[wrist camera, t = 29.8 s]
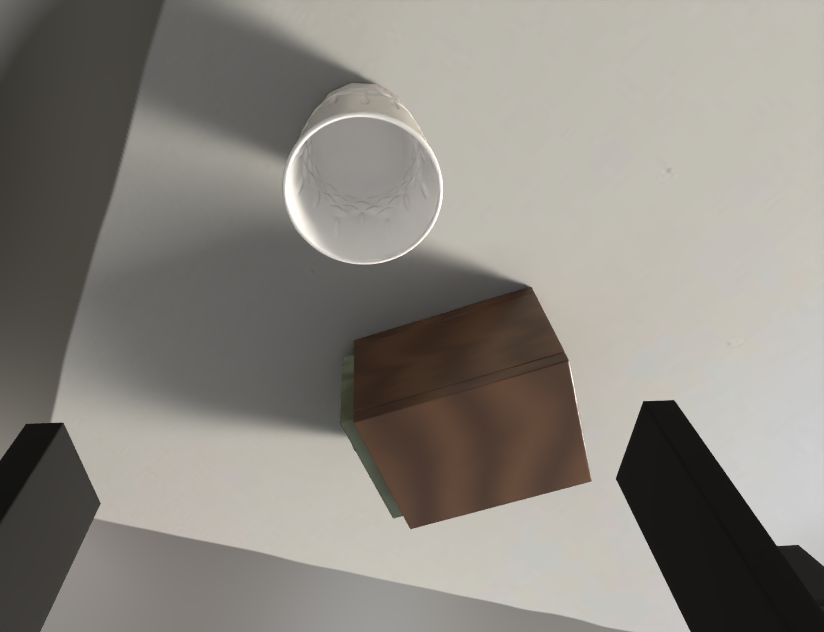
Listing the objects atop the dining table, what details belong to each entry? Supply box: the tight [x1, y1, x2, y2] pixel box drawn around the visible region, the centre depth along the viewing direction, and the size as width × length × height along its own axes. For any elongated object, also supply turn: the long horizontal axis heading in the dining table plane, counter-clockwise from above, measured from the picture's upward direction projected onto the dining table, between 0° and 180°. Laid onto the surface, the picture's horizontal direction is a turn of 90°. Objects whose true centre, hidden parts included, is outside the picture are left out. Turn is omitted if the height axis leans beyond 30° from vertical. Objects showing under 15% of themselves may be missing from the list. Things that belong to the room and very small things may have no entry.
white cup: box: [282, 83, 443, 265], centre depth 31 cm, size 8×8×10 cm
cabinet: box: [353, 287, 592, 529], centre depth 43 cm, size 15×13×9 cm
